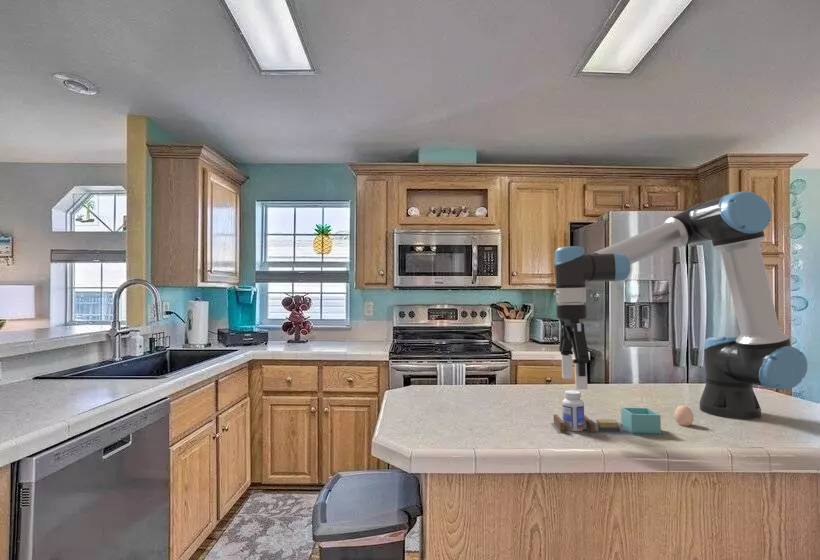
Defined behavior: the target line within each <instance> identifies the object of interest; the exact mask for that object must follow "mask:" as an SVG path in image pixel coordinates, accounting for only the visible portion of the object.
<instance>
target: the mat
mask: <svg viewBox="0 0 820 560" xmlns="http://www.w3.org/2000/svg"><path fill="white" fill-rule="evenodd" d="M550 424H551V426H552V428H553V429H554V430H555V431H556V433H557V434H562V435H563V434H567V435H595V436H596V435H597V436H599V435H601V436H630V437H631V436H632V437H633V436H634V437H636V436H637V437H638V436H639V437H662V438H664V437H666V436H665V435H663V434H662V433H661V435H641V434H631V433H630V432H628V431H627V430H626V429H625V428H623V432H607V431H595V434H591V433H590V432H589V431H588V430H587V429H586V428H584V430H582V431H570V430H566V429H565V433H560V431H559V430H558V429H557V427H556V426H555V425H554V422H550Z"/></svg>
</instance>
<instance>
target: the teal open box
mask: <svg viewBox="0 0 820 560" xmlns="http://www.w3.org/2000/svg"><path fill="white" fill-rule="evenodd" d="M620 418H621V419H620V422H622V423H623V428H625V429H626V430H627V431H628V432H630V433H631V434H641V435H661V434H662V429H661V428H662V426H661V425H662V424H661V423H662V422H661V420H662V419H661V414H659V413H658V412H656V411H654V410H652V409H650V408H648V407H623V406H622V407H620Z"/></svg>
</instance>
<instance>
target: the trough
mask: <svg viewBox="0 0 820 560" xmlns="http://www.w3.org/2000/svg"><path fill="white" fill-rule="evenodd" d="M553 423H554V425H555V426H556V427H557V429H558V430H559V431H560V433H565V424H564V422H563V419H562V418H561V417H560V416H559V415H558V414H553ZM584 424H585V428H586V429H587V430H588V431H589V432H590V433H591V434H590V435H593V434H595V424H594V423H593V422H592V421H591V418H589V417H588V416H586V414H584Z"/></svg>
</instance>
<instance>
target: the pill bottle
mask: <svg viewBox="0 0 820 560" xmlns="http://www.w3.org/2000/svg"><path fill="white" fill-rule="evenodd" d="M581 393H582V392H580V391H579V390H572V389H571V390H570V389H569V390H565V391H564V399H563V400H562V403H561V405H562V408H561V409H562V421H563V422H564V424H565V429H566V430H570V431H582V430H584V428H585V424H584V415H585V403H584V401H583V400H582V399H581V398H582V395H581Z"/></svg>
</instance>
